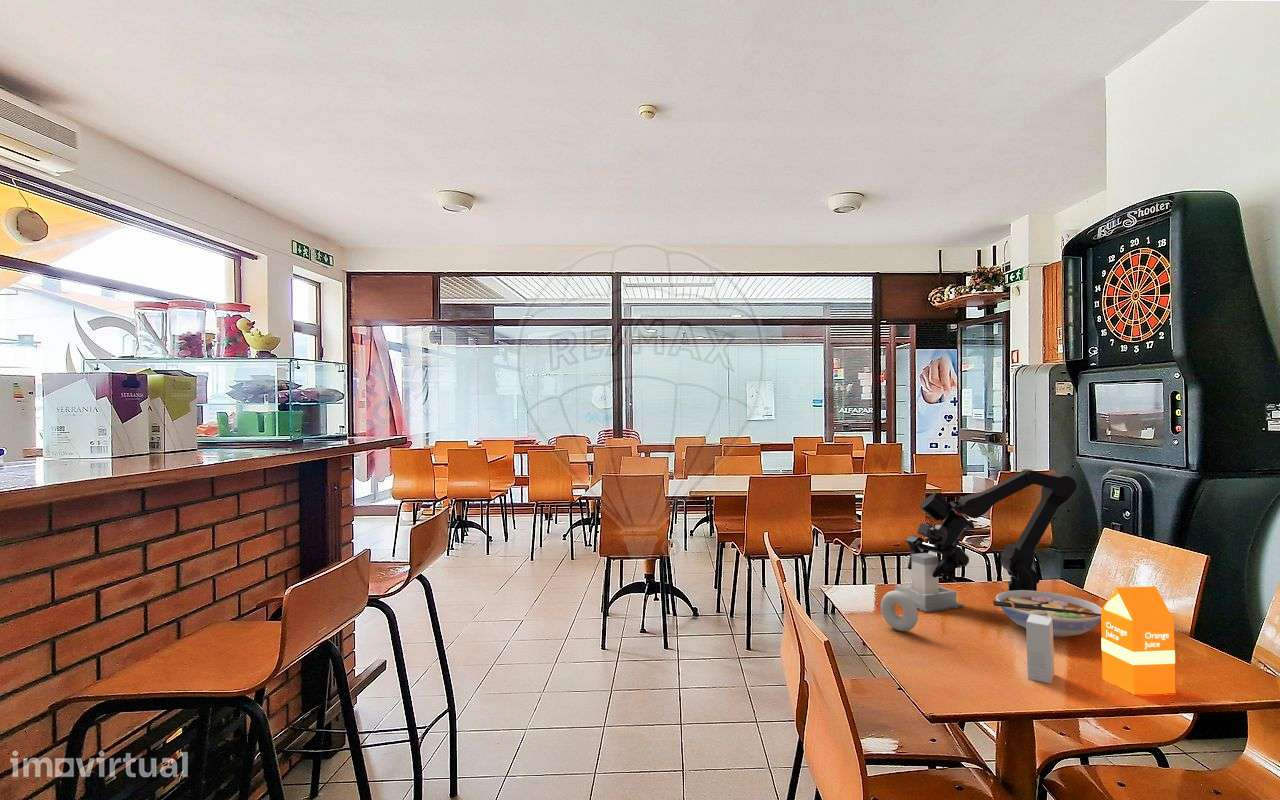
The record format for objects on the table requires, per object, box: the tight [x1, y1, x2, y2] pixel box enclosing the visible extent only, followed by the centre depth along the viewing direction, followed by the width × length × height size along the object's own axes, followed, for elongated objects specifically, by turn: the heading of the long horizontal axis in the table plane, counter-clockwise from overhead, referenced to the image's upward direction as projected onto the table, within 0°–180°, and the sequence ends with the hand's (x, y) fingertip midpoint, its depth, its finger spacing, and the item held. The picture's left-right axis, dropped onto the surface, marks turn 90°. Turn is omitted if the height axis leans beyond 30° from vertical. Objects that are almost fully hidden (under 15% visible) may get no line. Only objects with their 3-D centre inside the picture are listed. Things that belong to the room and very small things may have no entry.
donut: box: [880, 590, 919, 632], centre depth 156 cm, size 10×3×10 cm, turn 32°
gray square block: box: [910, 553, 940, 594], centre depth 178 cm, size 5×5×13 cm
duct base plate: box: [916, 601, 965, 613], centre depth 178 cm, size 14×14×1 cm
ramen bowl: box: [992, 590, 1103, 639], centre depth 153 cm, size 25×23×8 cm
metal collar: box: [894, 582, 957, 609], centre depth 178 cm, size 11×11×4 cm
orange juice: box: [1100, 585, 1176, 695], centre depth 124 cm, size 8×9×20 cm
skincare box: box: [1025, 614, 1055, 685], centre depth 129 cm, size 6×4×12 cm
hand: (920, 572), depth 177 cm, fingers open, 9 cm apart
